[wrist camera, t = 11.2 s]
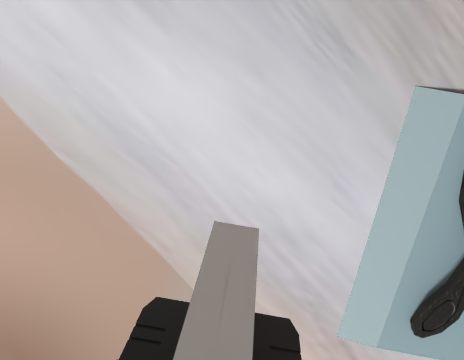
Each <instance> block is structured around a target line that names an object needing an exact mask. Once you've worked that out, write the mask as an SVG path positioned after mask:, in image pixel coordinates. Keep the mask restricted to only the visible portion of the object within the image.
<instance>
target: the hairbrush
mask: <svg viewBox="0 0 464 360" xmlns="http://www.w3.org/2000/svg"><path fill="white" fill-rule="evenodd" d="M459 206H460V211H461V217H462V223H463V229H464V171H463V177H462V183H461V189H460V195H459ZM463 311H464V258H463V259H462V261H461V262H460V263H459V265H458V266H457V267H456V269H455V270H454V272H453V273H452V274H451V276H450V277H449V278H448V280H447V281H446V283H445V284H444V285H442V286H441V287H440V288H439V289H438V290H437V291H435V292H434V293H433V294H432V295H431V296H429V297H428V298H427V299H426V300H425V301H424V302H422V303H421V304H420V306H419V307H418V309H417V310H416V311H415V313H414V314H413V316H412V317H411V319H410V324H411V330H412V331H413V333H414V335H415V336H418V337H421V338H426V337H429V336H432V335H436V334H439V333H442V332H443V331H444V330H446V329H447V328H448V327H449V326H451V325H452V324H453V323H455V322H456V321H457V320H458V319H459V318H460V316H461V314H462V313H463Z"/></svg>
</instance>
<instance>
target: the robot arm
mask: <svg viewBox="0 0 464 360" xmlns="http://www.w3.org/2000/svg"><path fill="white" fill-rule="evenodd" d="M258 237H259V229H258V228H252V227H246V226H240V225H234V224H228V223H222V222H216V221H214V225H213V228H212V231H211V235H210V238H209V241H208V245H207V248H206V251H205V255H204V258H203V261H202V265H201V268H200V271H199V275H198V278H197V281H196V285H195V288H194V291H193V295H192V298H191V302H190V303H189V302H183V301H178V300H171V299H166V298H161V297H156V298H155V299H154V300H152V301H151V302H150V303H149V304H148V305H146V306H145V307H144V308H143V309H142V312H141V314H140V316H139V318H138V320H137V322H136V326H135V327H134V328H133V331H132V333H131V335H130V338H129V340H128V341H127V343H126V346H125V348H124V350H123V352H122V354H121V356H120V358H119V360H301V355H300V352H301V351H300V341H299V334H298V332H297V331H296V329H295V327H294V326H293V324H292V322H291V321H290V319H288V318H282V317H276V316H270V315H265V314H259V313H255V296H256V276H257V257H258Z"/></svg>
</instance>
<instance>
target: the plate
mask: <svg viewBox="0 0 464 360" xmlns="http://www.w3.org/2000/svg"><path fill="white" fill-rule="evenodd" d="M463 171H464V94H460V93H454V92H448V91H442V90H436V89H430V88H424V87H418V86H416V87H415V91H414V94H413V97H412V100H411V103H410V107H409V110H408V113H407V116H406V119H405V123H404V126H403V129H402V132H401V135H400V139H399V142H398V145H397V148H396V151H395V154H394V158H393V161H392V164H391V167H390V170H389V174H388V177H387V180H386V183H385V186H384V190H383V193H382V196H381V199H380V202H379V206H378V209H377V212H376V215H375V218H374V222H373V225H372V228H371V231H370V234H369V237H368V241H367V244H366V247H365V250H364V253H363V257H362V260H361V263H360V266H359V269H358V273H357V276H356V279H355V282H354V285H353V289H352V292H351V295H350V298H349V301H348V305H347V308H346V311H345V314H344V317H343V320H342V324H341V327H340V330H339V333H338V336H337V337H339V338H343V339H346V340H350V341H354V342H357V343H361V344H365V345H368V346H372V347H376V348H381V349H386V350H391V351H397V352H402V353H407V354H413V355H418V356H423V357H429V358H434V359H439V360H464V311H463V313H462V314H461V316H460V318H459V319H458V320H457V321H456V322H455V323H453V324H452V325H451V326H449V327H448V328H447V329H446V330H444V331H443V332H442V333H439V334H436V335H432V336H429V337H426V338H421V337H418V336H415V335H414V333H413V331H412V330H411V324H410V319H411V317H412V316H413V314H414V313H415V311H416V310H417V309H418V307H419V306H420V304H421V303H422V302H424V301H425V300H426V299H427V298H428V297H429V296H431V295H432V294H433V293H434V292H435V291H437V290H438V289H439V288H440V287H441V286H442V285H444V284H445V283H446V281H447V280H448V278H449V277H450V276H451V274H452V273H453V272H454V270H455V269H456V267H457V266H458V265H459V263H460V262H461V261H462V259H463V258H464V229H463V223H462V217H461V211H460V206H459V195H460V189H461V183H462V177H463Z"/></svg>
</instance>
